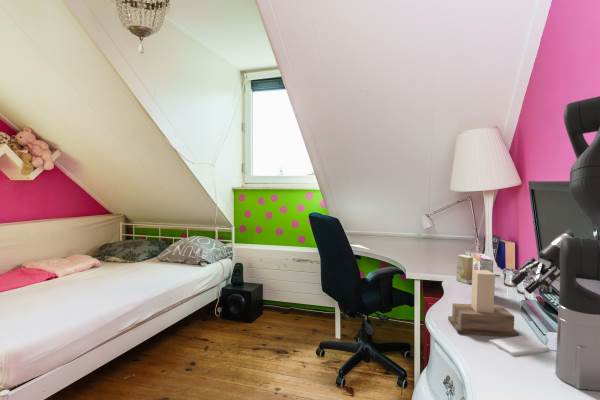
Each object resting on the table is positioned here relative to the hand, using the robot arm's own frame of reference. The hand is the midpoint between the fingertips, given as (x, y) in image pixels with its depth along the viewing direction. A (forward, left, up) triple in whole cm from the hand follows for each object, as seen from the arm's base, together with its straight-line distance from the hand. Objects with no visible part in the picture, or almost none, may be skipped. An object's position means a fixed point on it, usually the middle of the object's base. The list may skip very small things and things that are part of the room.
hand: (520, 287), depth 111 cm
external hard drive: (-12, +5, -15) cm, 20 cm away
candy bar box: (+34, -1, -14) cm, 37 cm away
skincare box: (+55, -1, -14) cm, 57 cm away
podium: (0, +11, -14) cm, 18 cm away
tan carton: (0, +11, -8) cm, 13 cm away
